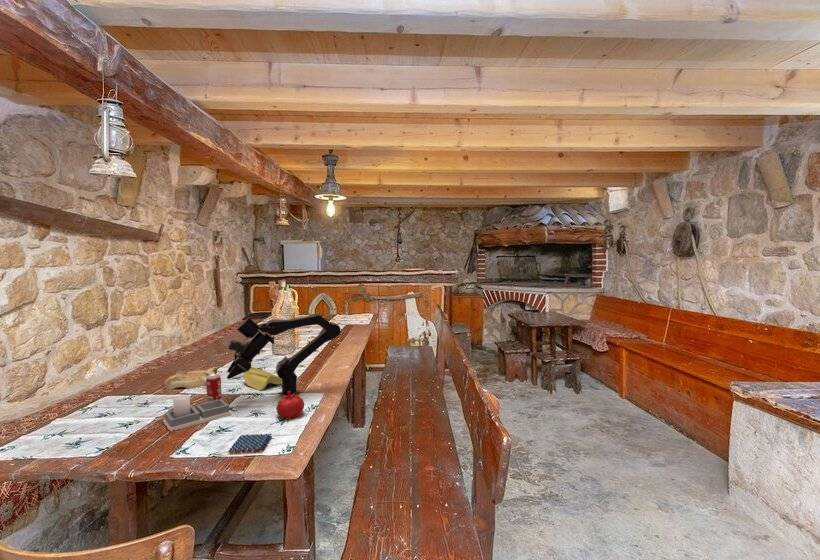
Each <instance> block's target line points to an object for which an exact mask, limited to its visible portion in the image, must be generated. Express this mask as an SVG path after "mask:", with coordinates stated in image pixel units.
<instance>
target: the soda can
mask: <svg viewBox="0 0 820 560" xmlns="http://www.w3.org/2000/svg"><path fill="white" fill-rule="evenodd" d="M205 387H206V402H210V401H214V400H219V399H222V400H223V397H222V395H223V393H222V377H221V375H220V374H217V373H216V374H213V375H209V376H207V379H206V386H205Z"/></svg>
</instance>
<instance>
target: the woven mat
mask: <svg viewBox="0 0 820 560" xmlns="http://www.w3.org/2000/svg"><path fill="white" fill-rule="evenodd" d="M271 435H272V433H265V434H262V433H259V434H258V433H257V434H253V433H252V434H241V435H240V436H239V437H238V438H237V439H236V440H235V442H234V443H233V444H232V445H231V447H230V448H229V449H228V453H229V455H231V454H233V455H235V454H236V455H239V454H243V453H244V454H247V452H248V454H250V453H251V454H254V453H255V454H257V453H258V452H259V453H262V452H263V451H265V449H266V447H267V446H268V444H269V443H270V440H271V439H272V438H273V436H271Z"/></svg>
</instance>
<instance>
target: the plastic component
mask: <svg viewBox="0 0 820 560" xmlns="http://www.w3.org/2000/svg"><path fill="white" fill-rule="evenodd" d="M243 379H244V382H245V384H246V385H247V386H248V387H251V388H253V389H255V390H257V391H263V390H264V389H266V387H267V385H268V384H274V385H277V386H280V385H282V379H281V378H280V377H279V376H278V375H276V374H273V373H271V372H268V371H266V370H262V369H259V368H256V367H253V366H251V369H250V370H249V371H246V372H244V373H243Z"/></svg>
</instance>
